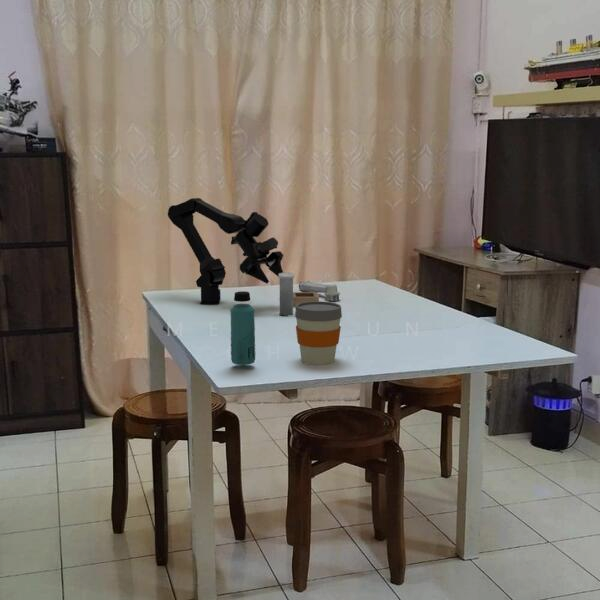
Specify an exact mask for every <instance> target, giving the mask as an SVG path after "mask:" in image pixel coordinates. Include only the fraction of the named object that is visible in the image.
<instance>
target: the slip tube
mask: <svg viewBox="0 0 600 600" xmlns="http://www.w3.org/2000/svg"><path fill="white" fill-rule="evenodd" d="M278 278H279V316H281V315H285V316H284V317H289V316H288V315H292V316H294V308H293V292H294V278H295V273H294V272H283V273H279V277H278Z"/></svg>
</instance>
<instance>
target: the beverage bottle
mask: <svg viewBox="0 0 600 600" xmlns="http://www.w3.org/2000/svg"><path fill="white" fill-rule="evenodd" d="M250 294H251V293H250V292H249V291H236V292H234V297H233V300H234V301H235V302H237V303H236V304H234V305H233V306H232V307H231V308H230V334H229V335H230V360H231V361H230V362H231V363H232V364H234V365H240V366H244V365H245V366H247V365H252V364H254V363H255V362H256V351H257V349H256V347H257V346H256V333H255V332H256V325H255V324H256V322H255V307H253V306H252V305H251V304H249V303H242V302H249V301H251V295H250ZM238 302H241V303H238Z"/></svg>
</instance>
